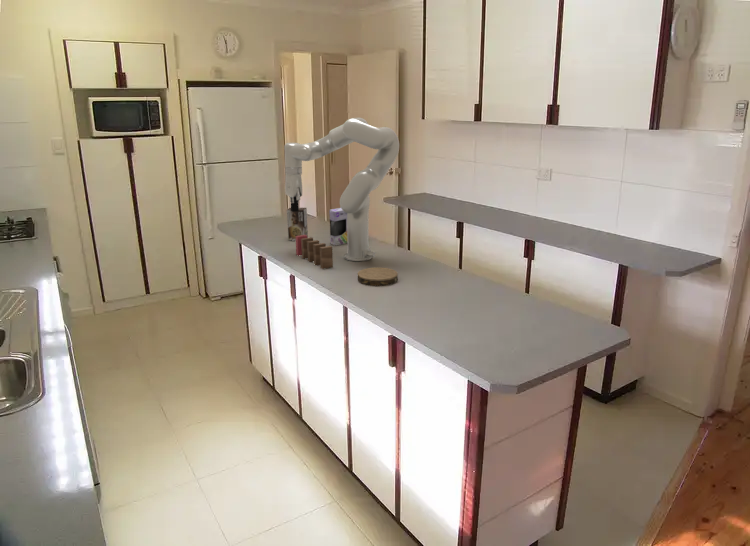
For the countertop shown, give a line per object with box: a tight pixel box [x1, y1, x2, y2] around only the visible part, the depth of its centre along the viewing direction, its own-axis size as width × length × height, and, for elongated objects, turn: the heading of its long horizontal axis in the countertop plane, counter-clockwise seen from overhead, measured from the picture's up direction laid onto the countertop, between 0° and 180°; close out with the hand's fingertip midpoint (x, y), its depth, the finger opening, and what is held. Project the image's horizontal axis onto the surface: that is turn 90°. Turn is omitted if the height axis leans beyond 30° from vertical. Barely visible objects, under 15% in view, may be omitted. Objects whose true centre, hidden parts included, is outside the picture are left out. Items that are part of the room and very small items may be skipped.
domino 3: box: [313, 242, 327, 266], centre depth 235 cm, size 2×5×9 cm, turn 123°
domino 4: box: [319, 245, 334, 270], centre depth 231 cm, size 2×5×9 cm, turn 123°
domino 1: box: [301, 236, 314, 260], centre depth 245 cm, size 2×5×9 cm, turn 123°
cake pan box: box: [328, 207, 347, 246], centre depth 271 cm, size 19×5×18 cm, turn 131°
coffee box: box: [286, 207, 309, 242], centre depth 276 cm, size 9×6×16 cm
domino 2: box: [307, 239, 320, 263], centre depth 240 cm, size 2×5×9 cm, turn 123°
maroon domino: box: [295, 235, 307, 257], centre depth 250 cm, size 2×5×9 cm, turn 123°
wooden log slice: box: [357, 267, 399, 287], centre depth 216 cm, size 16×16×3 cm
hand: (294, 211), depth 249 cm, fingers closed
